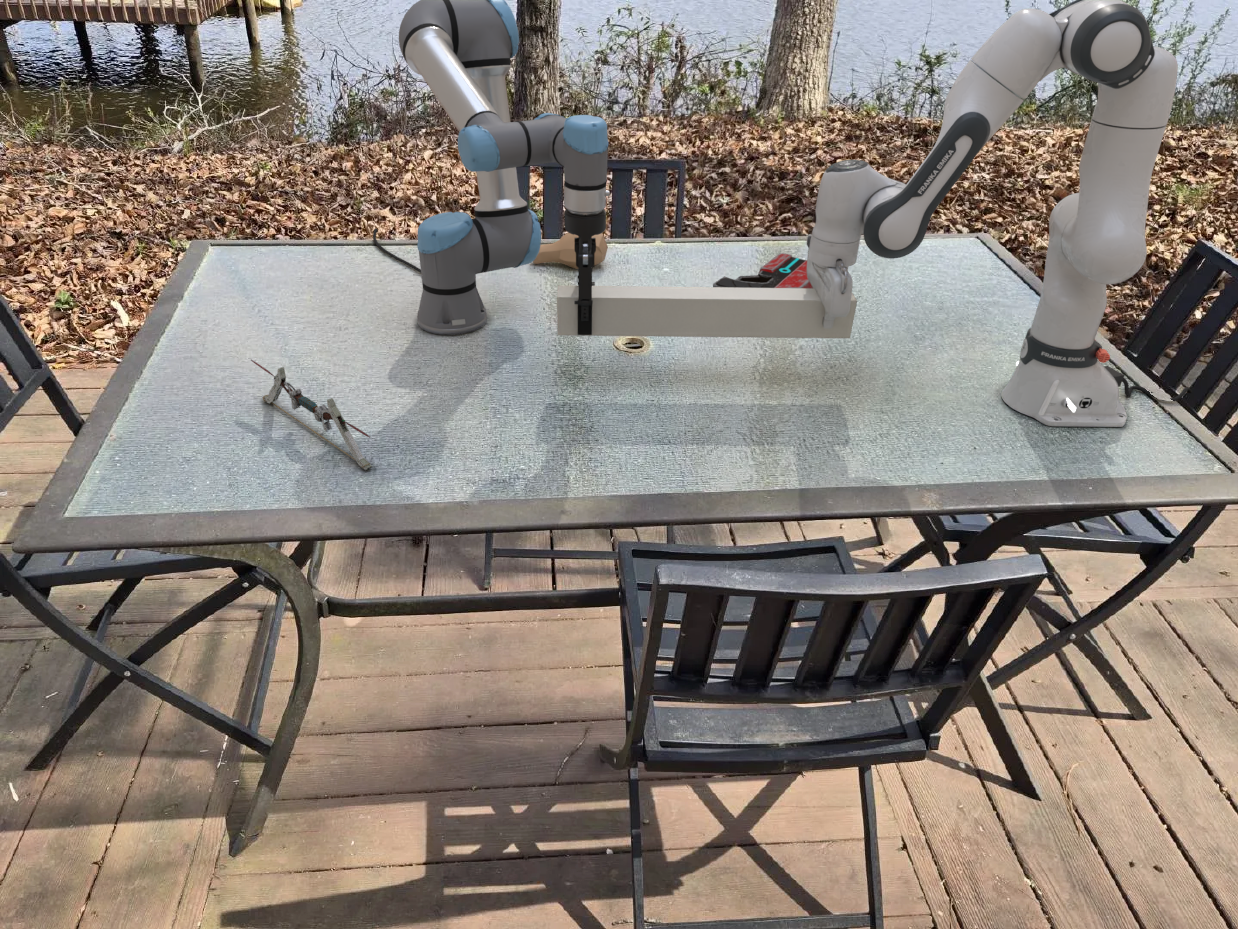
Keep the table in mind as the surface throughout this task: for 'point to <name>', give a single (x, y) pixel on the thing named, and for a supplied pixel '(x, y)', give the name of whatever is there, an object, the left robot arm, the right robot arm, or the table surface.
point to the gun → (773, 275)
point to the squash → (569, 251)
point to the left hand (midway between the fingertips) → (584, 326)
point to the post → (702, 312)
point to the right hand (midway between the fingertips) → (822, 319)
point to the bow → (316, 413)
